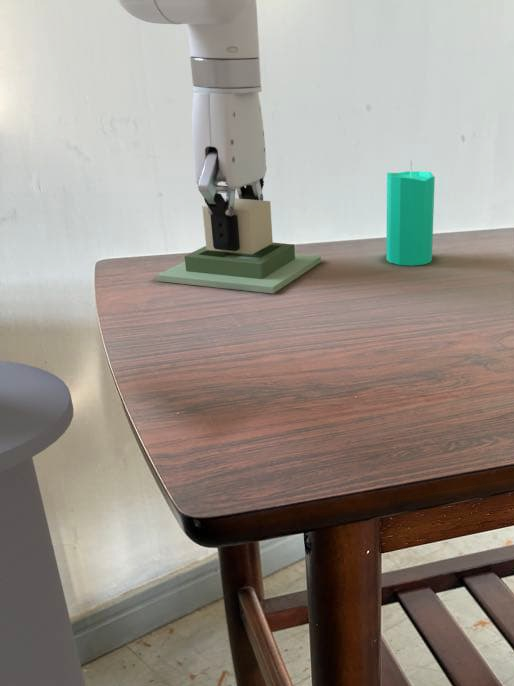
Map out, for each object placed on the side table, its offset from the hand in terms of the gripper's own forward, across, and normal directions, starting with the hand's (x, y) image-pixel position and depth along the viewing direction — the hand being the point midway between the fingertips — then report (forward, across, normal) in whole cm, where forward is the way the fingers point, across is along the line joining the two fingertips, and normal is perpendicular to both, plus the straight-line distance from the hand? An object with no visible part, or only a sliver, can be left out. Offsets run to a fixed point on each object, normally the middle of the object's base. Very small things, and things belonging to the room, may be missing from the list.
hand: (239, 241), depth 106 cm
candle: (+4, -13, +18) cm, 22 cm away
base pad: (+4, 0, 0) cm, 4 cm away
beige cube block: (+1, 0, 0) cm, 1 cm away
